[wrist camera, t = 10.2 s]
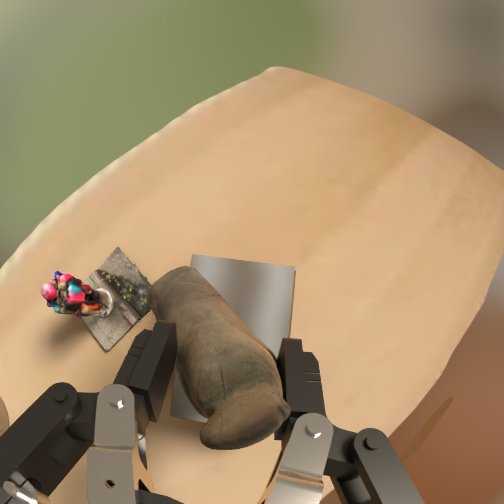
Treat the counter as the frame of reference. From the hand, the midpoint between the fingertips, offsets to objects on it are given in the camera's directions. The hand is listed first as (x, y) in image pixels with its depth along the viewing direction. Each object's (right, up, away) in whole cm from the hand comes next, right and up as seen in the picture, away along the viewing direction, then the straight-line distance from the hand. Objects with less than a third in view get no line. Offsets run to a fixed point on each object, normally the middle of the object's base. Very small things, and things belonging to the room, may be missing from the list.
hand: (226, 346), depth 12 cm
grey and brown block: (-1, -8, +24) cm, 25 cm away
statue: (-18, -3, +25) cm, 31 cm away
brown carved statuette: (-2, -2, +9) cm, 9 cm away
